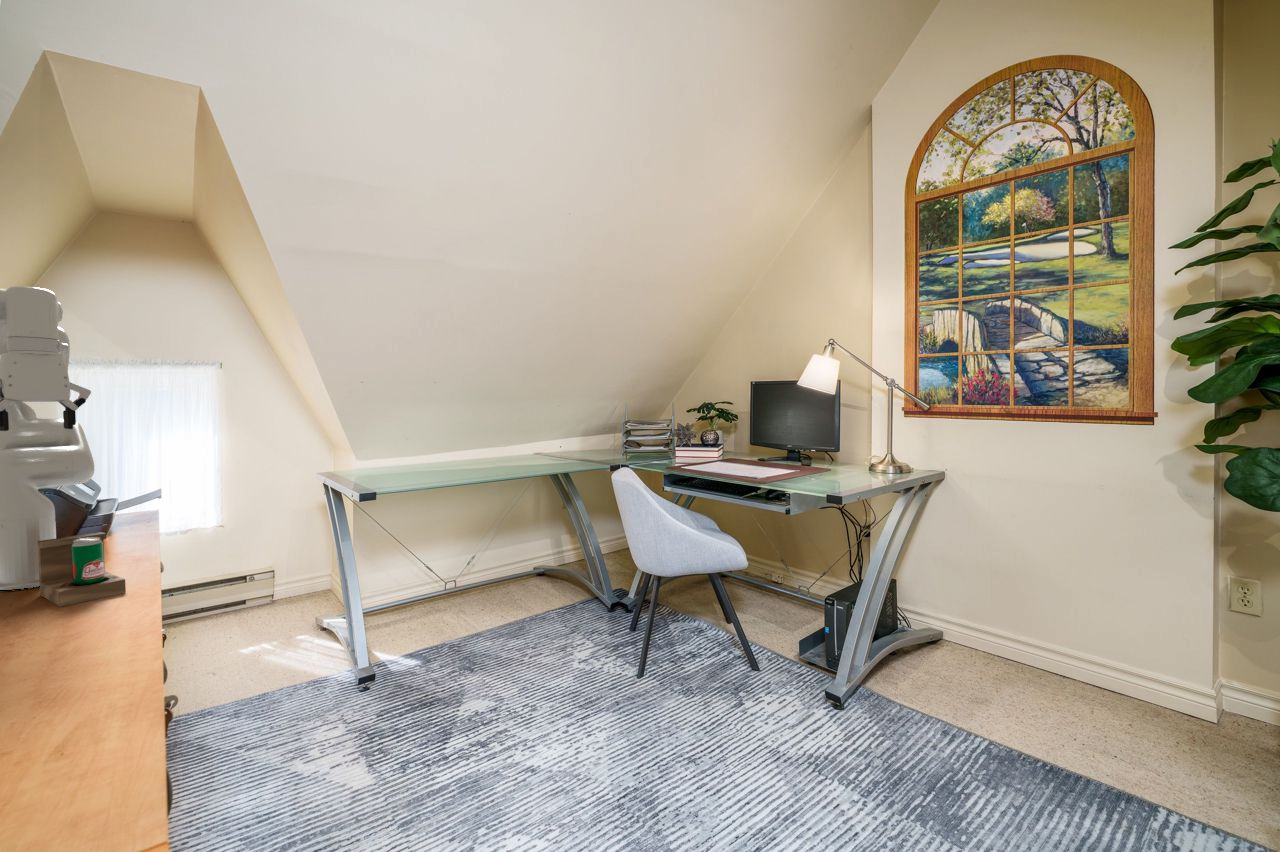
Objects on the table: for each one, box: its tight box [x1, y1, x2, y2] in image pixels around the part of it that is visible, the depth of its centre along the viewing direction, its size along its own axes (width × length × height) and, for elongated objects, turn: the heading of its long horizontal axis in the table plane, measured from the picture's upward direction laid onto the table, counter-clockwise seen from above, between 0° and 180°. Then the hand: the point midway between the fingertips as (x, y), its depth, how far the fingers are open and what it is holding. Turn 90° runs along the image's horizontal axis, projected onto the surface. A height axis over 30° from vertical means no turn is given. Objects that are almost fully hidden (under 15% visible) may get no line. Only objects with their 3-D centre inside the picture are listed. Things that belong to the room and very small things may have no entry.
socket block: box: [38, 531, 127, 608], centre depth 129 cm, size 14×10×12 cm
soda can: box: [71, 537, 105, 586], centre depth 128 cm, size 5×5×12 cm
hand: (37, 429), depth 123 cm, fingers open, 9 cm apart
